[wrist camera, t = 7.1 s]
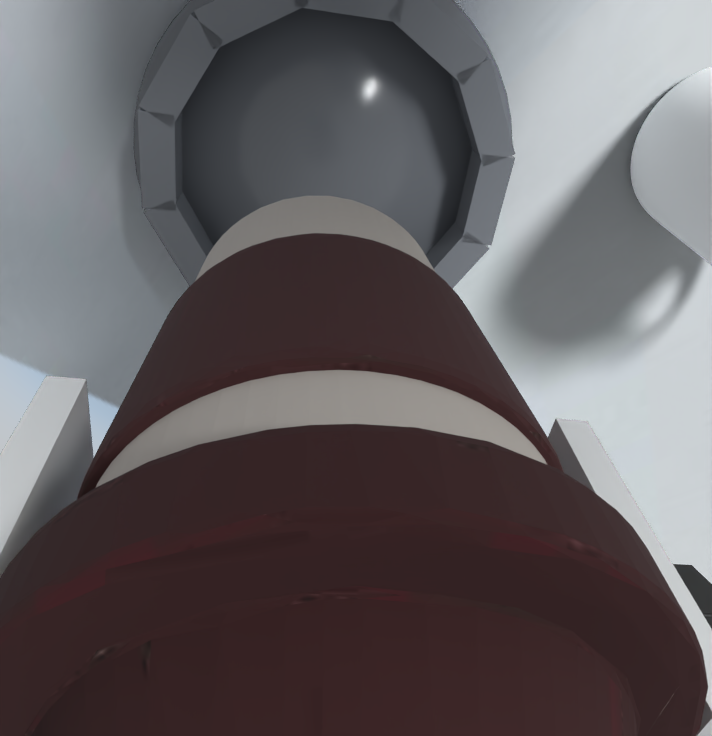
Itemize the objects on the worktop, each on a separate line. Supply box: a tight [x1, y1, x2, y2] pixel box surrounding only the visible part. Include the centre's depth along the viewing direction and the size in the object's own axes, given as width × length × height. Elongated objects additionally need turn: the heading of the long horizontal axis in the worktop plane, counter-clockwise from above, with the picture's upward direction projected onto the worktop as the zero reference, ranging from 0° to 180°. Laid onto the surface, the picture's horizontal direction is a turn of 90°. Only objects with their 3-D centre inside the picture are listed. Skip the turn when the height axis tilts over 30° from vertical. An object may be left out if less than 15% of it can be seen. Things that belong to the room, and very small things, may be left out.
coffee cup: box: [0, 196, 708, 736], centre depth 13 cm, size 10×10×15 cm
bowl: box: [134, 0, 515, 288], centre depth 32 cm, size 19×19×3 cm
